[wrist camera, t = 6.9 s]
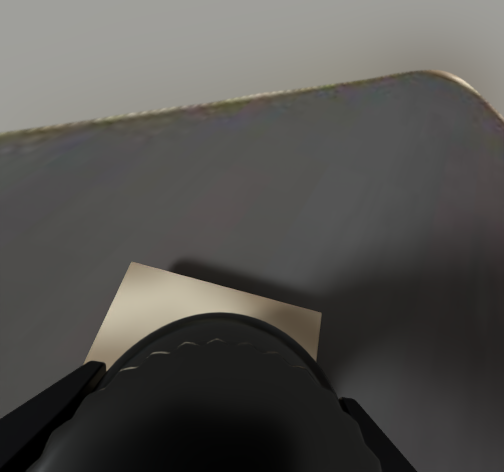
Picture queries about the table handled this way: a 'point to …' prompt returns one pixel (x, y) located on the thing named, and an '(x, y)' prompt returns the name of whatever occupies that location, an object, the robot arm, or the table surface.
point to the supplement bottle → (211, 407)
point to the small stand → (188, 311)
